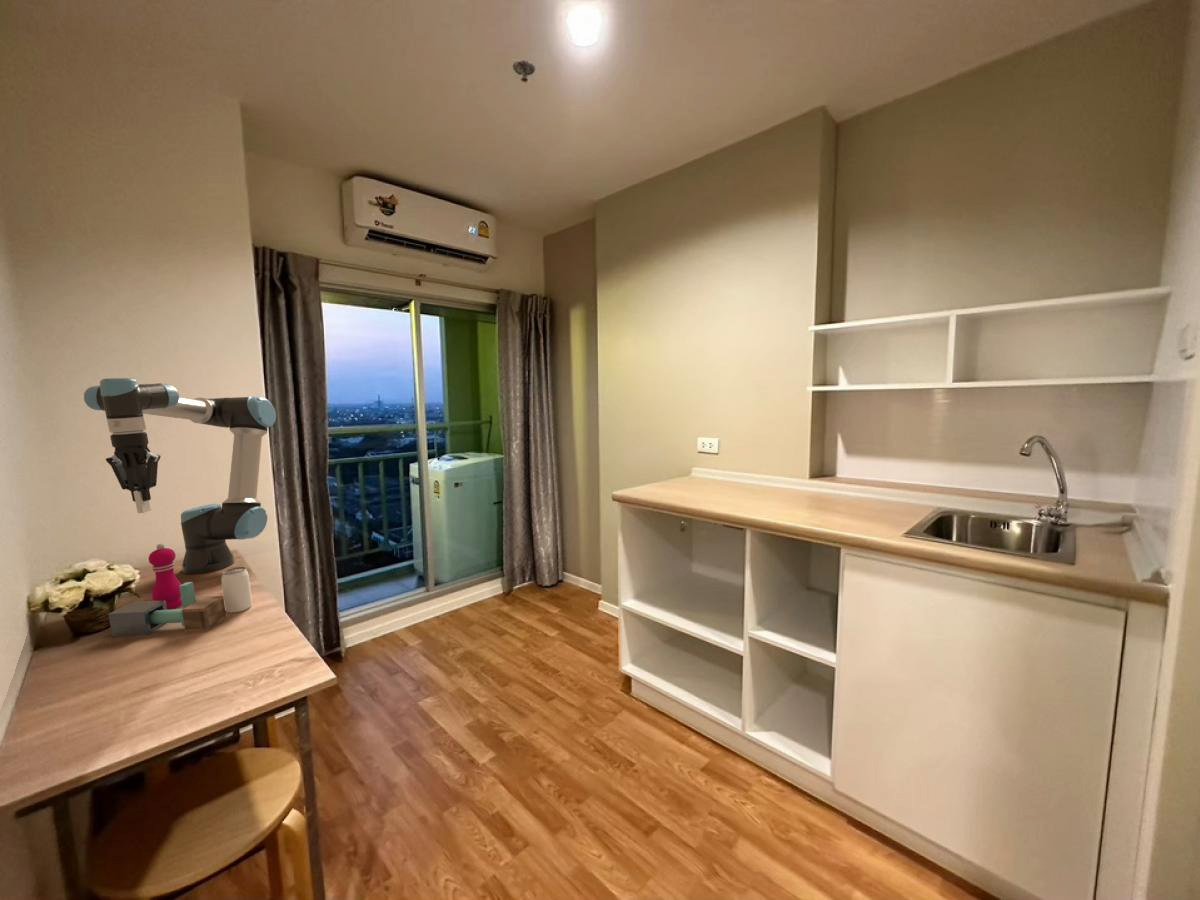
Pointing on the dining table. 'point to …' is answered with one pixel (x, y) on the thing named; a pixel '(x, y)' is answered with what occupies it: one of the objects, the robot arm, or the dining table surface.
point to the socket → (204, 614)
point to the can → (236, 589)
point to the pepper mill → (165, 577)
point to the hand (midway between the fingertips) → (144, 511)
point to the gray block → (135, 618)
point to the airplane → (174, 614)
